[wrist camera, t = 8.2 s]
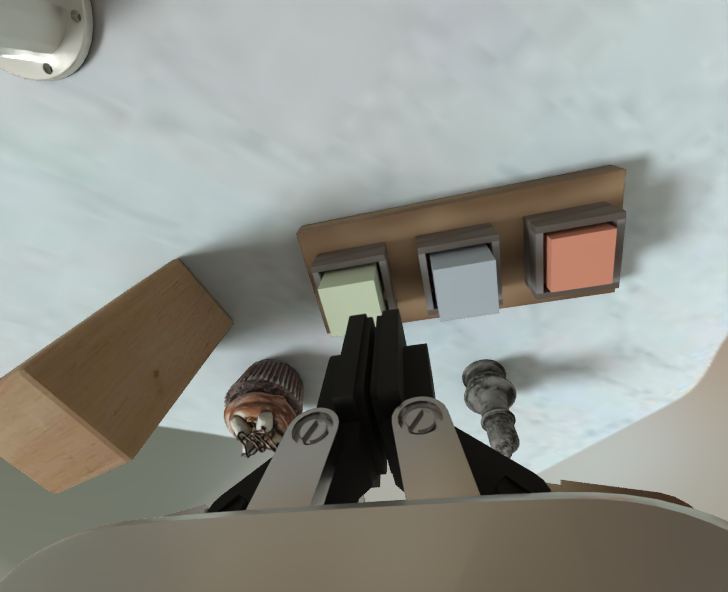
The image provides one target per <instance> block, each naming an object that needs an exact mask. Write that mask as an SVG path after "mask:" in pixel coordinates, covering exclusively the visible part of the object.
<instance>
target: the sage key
mask: <svg viewBox="0 0 728 592" xmlns="http://www.w3.org/2000/svg"><path fill="white" fill-rule="evenodd" d="M317 290H318V293H319V296H320V300H321V303H322V306H323V309H324V313H325V316H326V319H327V323H328V326H329V329H330V332H331V336H332V337H336V336H343V335H345V334H346V329H347V325H348V320H349V316H352V315H359V314H365V313H366V315H367V317H373V319H374V323H375V327H376V319H377V316H380V315H382V311H385V310H386V305H385V301H384V296H383V292H382V287H381V283H380V278H379V273H378V269H377V264H376V262H375V263H369V264H363V265H357V266H352V267H346V268H340V269H334V270H329V271H325V273H324V275H323V278H322V280H321V282H320V285H319V287H318V289H317Z"/></svg>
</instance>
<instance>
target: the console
mask: <svg viewBox="0 0 728 592" xmlns="http://www.w3.org/2000/svg"><path fill="white" fill-rule="evenodd" d="M625 173H626V169H623V168H620V167H616V166H613V165H608V166H603V167H598V168H593V169H588V170H583V171H578V172H573V173H568V174H563V175H558V176H553V177H548V178H542V179H537V180H532V181H527V182H522V183H517V184H512V185H507V186H502V187H497V188H492V189H487V190H482V191H477V192H472V193H467V194H462V195H456V196H451V197H446V198H441V199H436V200H431V201H426V202H421V203H416V204H411V205H406V206H401V207H396V208H391V209H386V210H381V211H375V212H370V213H365V214H360V215H355V216H350V217H345V218H340V219H335V220H330V221H325V222H320V223H315V224H310V225H305V226H302V227H301V228H300V229H299V231H298V232H297V233H296V234H297V237H298V240H299V243H300V247H301V250H302V253H303V256H304V260H305V263H306V266H307V269H308V273H309V276H310V279H311V282H312V285H313V289H314V292H315V295H316V298H317V302H318V305H319V308H320V311H321V314H322V318H323V321H324V324H325V327H326V331H327V334H328V333H331V332H330V329H329V326H328V323H327V319H326V316H325V313H324V309H323V306H322V303H321V300H320V296H319V293H318V290H317V289H318V287H319V285H320V282H321V280H322V278H323V275H324V273H325V271H329V270H334V269H340V268H346V267H352V266H357V265H363V264H369V263H375V262H376V264H377V269H378V273H379V278H380V283H381V287H382V292H383V296H384V301H385V305H386V310H392V309H398V308H399V311H400V316H401V321H402V323H404V322H411V321H418V320H425V319H432V318H439V317H440V316H439V311H438V306H437V301H436V295H435V288H434V281H433V275H432V268H431V261H430V254H429V253H432V252H438V251H443V250H449V249H455V248H461V247H466V246H472V245H478V244H484V243H485V244H486V245H487V247H488V248H489V250H490V252H491V253H492V255H493V256H494V258H495V259H496V271H497V287H498V302H499V309H501V308H508V307H515V306H522V305H528V304H535V303H542V302H549V301H556V300H563V299H570V298H577V297H584V296H591V295H598V294H605V293H611V292H615V288H619V282H620V272H621V261H622V251H623V241H624V230H625V220H626V211H624V210H622V205H623V194H624V184H625ZM604 222H607V223H608V224H610V225H612V226H614V227H615V228H617V235H616V246H615V258H614V269H613V281H612V284H605V285H599V286H592V287H585V288H578V289H572V290H565V291H558V292H550V290H549V289H548V288H547V287H546V285H545V284H544V283H543V233H546V232H552V231H558V230H563V229H569V228H575V227H581V226H586V225H592V224H598V223H604Z"/></svg>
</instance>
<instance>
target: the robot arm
mask: <svg viewBox="0 0 728 592" xmlns="http://www.w3.org/2000/svg"><path fill="white" fill-rule="evenodd" d="M92 34H93V15H92V7H91V2H90V0H0V68H1V69H3V70H5V71H7V72H9V73H11V74H12V75H15V76H18V77H21V78H24V79H29V80H36V81H55V80H59V79H64V78H65V77H67V76H69V75H71V74H73V73H74V72H75V71H76V70H77V69H78V68H79V67H80V66H81V65H82V63H83V62H84V60H85V58H86V57H87V55H88V52H89V49H90V45H91V42H92ZM387 460H388V463H389V467H390V470H391V473H392V474H393V477H394V481H395V484H396V485H397V486H398V487H399V488H400V489H401V490H402V491H404V492H405V498H406V500H394V501H378V502H365V498H364V494H365V493H366V492H367V491H368V490H369V489H370V488H374V487H380V475H381V474H386V472H387ZM0 592H728V521H726V520H724V519H721V518H719V517H716V516H713V515H711V514H708V513H705V512H702V511H699V510H696V509H694V508H692V506H690V505H689V504H687V503H685V502H684V501H682V500H680V499H678V498H676V497H674V496H670V495H666V494H663V493H658V492H650V491H643V490H636V489H627V488H620V487H613V486H612V487H611V486H604V485H597V484H590V483H582V482H574V481H566V480H561V482H560V485H558V484H550V483H545V481H544V480H543V479H541V478H540V477H539V476H537V475H536V474H535V473H533V472H532V471H530V470H528V469H527V468H525V467H523V466H521V465H520V464H518V463H516V462H515V461H513V460H511V459H510V458H508V457H506V456H504V455H503V454H501V453H499V452H498V451H496V450H494V449H492V448H491V447H489V446H487V445H486V444H484V443H482V442H480V441H479V440H477V439H475V438H474V437H472V436H470V435H469V434H467V433H465V432H463V431H462V430H460V429H458V428H457V427H455V426H454V425H453V422H452V420H451V417H450V414H449V412H448V410H447V408H446V407H445V405H444V404H443V403H441V402H440V401H439V400H436V399H435V392H434V384H433V377H432V371H431V365H430V359H429V353H428V347H427V343H426V344H418V345H411V346H407V345H406V340H405V335H404V330H403V325H402V321H401V316H400V311H399V308H398V309H392V310H385V311H382V315H380V316H377V319H376V327H375V323H374V319H373V317H367V315H366V313H365V314H359V315H352V316H349V320H348V325H347V329H346V334H345V338H344V343H343V347H342V352H341V355H336V356H331V357H330V359H329V362H328V366H327V370H326V374H325V378H324V381H323V385H322V389H321V393H320V397H319V400H318V404H317V408H313V409H310V410H308V411H305V412H303V413H302V414H300V415H298V416H297V417H296V418H295V419H294V420H293V421H292V422H291V423H290V425H289V426H288V428H287V430H286V432H285V434H284V436H283V438H282V440H281V442H280V444H279V446H278V448H277V450H276V452H275V454H274V456H273V457H272V458H270V459H269V460H268V461H267V462H265V463H264V464H263V465H261V466H260V467H259V468H257V469H256V470H255V471H253V472H252V473H251V474H249V475H248V476H247V477H245V478H244V479H243V480H242V481H240V482H239V483H237V484H236V485H235V486H233V487H232V488H231V489H229V490H228V491H227V492H225V493H224V494H223V495H221V496H220V497H219V498H218V499H217V500H216V501H215V502H214V503H213V504H212V506H211V507H210V508H208V507H207V505H206V504H204V505H201V506H197V507H194V508H191V509H187V510H184V511H180V512H177V513H174V514H170V515H167V516H163V517H155V518H146V519H139V520H131V521H123V522H119V523H114V524H109V525H104V526H100V527H97V528H93V529H90V530H87V531H83V532H80V533H78V534H75V535H72V536H70V537H68V538H66V539H64V540H61V541H58V542H56V543H54V544H52V545H50V546H48V547H46V548H44V549H42V550H41V551H39V552H37V553H35V554H34V555H32V556H30V557H29V558H27V559H26V560H24V561H23V562H22V563H21V564H19V565H18V566H17V567H15V568H14V569H13V570H12V571H11V572H10V573H9V574H8V575H7V576H6V577H5V578H4V579H3V580H2V581H1V582H0Z"/></svg>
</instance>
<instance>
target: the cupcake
mask: <svg viewBox="0 0 728 592" xmlns="http://www.w3.org/2000/svg"><path fill="white" fill-rule="evenodd" d="M224 399H226V400H225V401H224V403H225V404H226V405H225V407H226V408H225V411H224V420H225V424H226V426H227V428H228V430H229V431H230V433H231V434H232V435H233V436H234V437H236V439H237V440H238V441H240V442H241V443H242V444H243V454H242V455H241V456H245V457H247V458H249V457H252V456H253V455H254V454H255V453H256V452H257V451H259V452H261V453H263V452H265V450H266V449H267V450H272V451H273V452H276V450H277V448H278V446H279V444H280V442H281V440H282V438H283V436H284V434H285V432H286V430H287V428H288V426H289V425H290V423H291V422H292V421H293V420H294V419H295V418H296V417H297V416H298V415H300V414H302V411H303V409H302V407H303V404H302V401H303V382H302V380H301V379H300V376H299V374H298V373H297V371H296V370H295V369H294V368H292V367H290V366H289V365H288V364H286V363H283V362H280V361H276V360H263V361H258V362H255V363H254V364H253V365H252V366H250V367H249V368H248V369H247V370H246V371H245V373H244V374H243V375H242V376H241V377H240V378H239V379H238V380H237V381H236V382H235V383H234V384H233V385H232V386H231V388H230V389H229V390H228V392H227V394H226V397H225V398H224Z"/></svg>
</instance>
